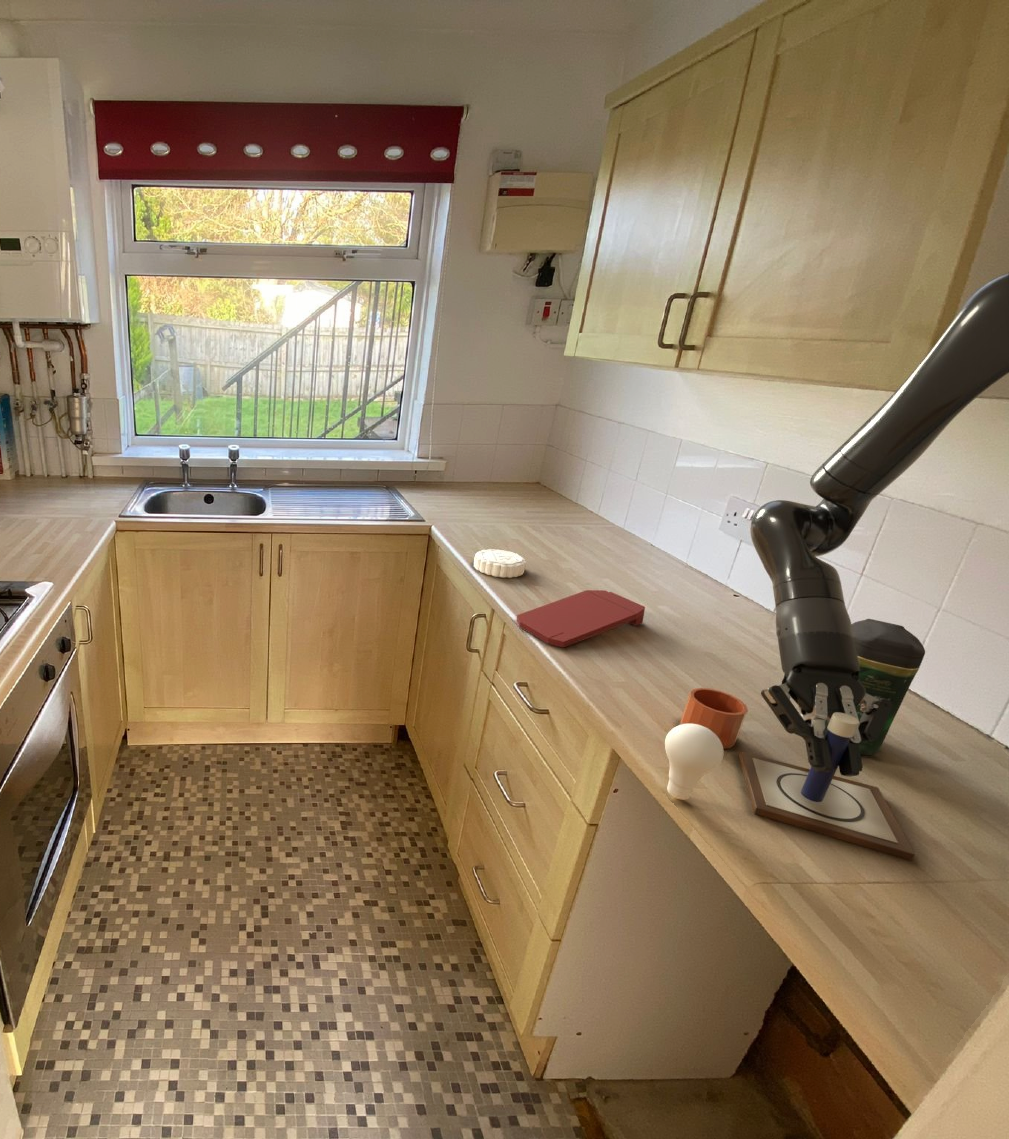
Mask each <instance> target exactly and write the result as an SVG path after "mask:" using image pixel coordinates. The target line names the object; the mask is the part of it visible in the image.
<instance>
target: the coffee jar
mask: <svg viewBox="0 0 1009 1139" xmlns="http://www.w3.org/2000/svg"><path fill="white" fill-rule="evenodd" d="M851 625H852V630H853V635H854V640H855V646H856V651H857V656H858V662H859V667H860V671H859V680H860V682H861V684H862V685H863V686H864V688H865V690H866V693H867V694H869V695H871V696H873V697H875V698H877V699H879V700H883V699H887V700H889V701H891V702H892V705H893V706H892V709H891V711H890V713H889V715H888V717H887V719H886V721H885V723H884V725H883V727H882V730H881V732H880V734H879V736H878V738H877V739H876V740H873V741H867V742H864V743H860V745H859V749H860V755H864V756H865V755H866V756H873V755H876V754H878V753H879V751H880V750H881V747H882V746H883V743H884V741H885V739H886V737H887V735H888V732H889V730H890V728H891V727H892V724H893V722H894V719H895V717H896V716H897V713H898V711H899V709H900V707H901V705H902V703H903V701H904V699H905V697H906V696H907V693H908V691H909V689H910V686H911V684H912V682H913V681H914V679H915V677H916V675H917V673H918V671H919V669H920V667H921V666H922V662H923V660H924V657H925V655H926V650H925V647H924V645H923V644H922V642H921V641H920V639H919V638H918V637H917V636H916V635H915V634H913V633H912V632H910V631H909V630H907V629H906V628H905V627H904V626H903V625H900V624H895V623H892V622H887V621H882V620H877V619H873V618H866V619H863V620H858V621H854V622H852V623H851ZM855 709H856V712H857V716H858V719H859V721H860V719H861V716H862V714H863V712H861V710H860V709H861V703H859V704H858V705H857V707H856V708H855ZM828 724H829V723H828V719H827V720H826V721H825V730H826V732H827V729H828V728H827V727H828Z"/></svg>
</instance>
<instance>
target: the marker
mask: <svg viewBox="0 0 1009 1139" xmlns="http://www.w3.org/2000/svg"><path fill="white" fill-rule="evenodd" d="M858 724H859V721H858V720H857V719H856V718H855V717H853V716H851V715H848V714H845V713H839V712H836V713H833V715H832V717H831V720H830V722H829V724H828V727H827V728H828V729H827V732H826V736H825V737H824V740H828V745H829V751H830V757H831V763H832V770H831V771H830V772H824V773H822V772H816V771H815V770H814V767H813V766H811V765H810V768H809V769H810V771H809V773H808V776H807V778H806V780H805V783H804V785H803V787H802V790H801V794H802V795H803V796H804V797H805V798H807V799H809V800H811V801H814V802H822V801H823V799H824V797H825V795H826V792H827V790H828V788H829V786H830V783H831V781H832V779H833V777H834V776H836V772H837V770H838V769H839V764H840V761H841V759H842V757H843V755H844V752H845V750H846V748H847V746H848V744H849V741H850V739H851V737H853V735H854V733H855V731H856V729H857V727H858Z"/></svg>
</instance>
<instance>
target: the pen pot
mask: <svg viewBox="0 0 1009 1139" xmlns="http://www.w3.org/2000/svg"><path fill="white" fill-rule="evenodd" d="M683 709H684V710H683V712H682V715H681V717H680V723H679V725H682V724H697V725H701V726H704V727H706V728H708V729H709V730H711V731H712V732H713V733H715V734H716V735H717V737H718V738H719V739H720V741H721V743H722V745H723V750H724V749H731V748H733V746H735V744H736V742H737V740H738V738H739V735H740V733H741V730H742V727H743V724H744V722H745V719H746V716H747V713H748V711H749V709H748V706H747V704H745V703H744V702H743V701H742V700H741V699H739V698H738V697H736V696H734V695H732V694H730V693H727V692H724V691H721V690H717V689H714V688H708V687H707V688H706V687H698V688H694V689H692V690H691V691H690V692H689V693H688V697H687V700H686V703H685V706H684V708H683Z"/></svg>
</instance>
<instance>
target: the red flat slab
mask: <svg viewBox="0 0 1009 1139" xmlns="http://www.w3.org/2000/svg"><path fill="white" fill-rule="evenodd" d="M645 610H646V606H644V605H642V604H639V603H637V602H635V601H632V600H630V599H628V598H626V597H624V596H622V595H619V594H617V593H614V592H612V591H607V590H604V589H600V590H599V589H596V590H595V589H594V590H593V589H592V590H591V589H586V590H583V591H580V592H577V593H574V594H572V595H569V596H566V597H564V598H561V599H558V600H556V601H552V602H550V603H547V604H544V605H542V606H538V607H535V608H532V609H530V610H528V611H525V612H522V613H520V614H517V615H516V622H517V625H518V627H519V628H520V629H522V630H523V631H525V632H527V633H529V634H531V635H532V636H534V637H536V638H537V639H539V640H541V641H542V642H544V643H546V644H548V645H550V646H555V647H559V648H566V647H569V646H571V645H574V644H576V643H578V642H581V641H583V640H587V639H589V638H592V637H595V636H597V635H600V634H602V633H605V632H607V631H610V630H611V629H615V628H618V627H620V626H622V625H625V624H627V623H629V624H631V625H632V626H634V627H636V626H639V625H642V624H643V622H644V617H645Z"/></svg>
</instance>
